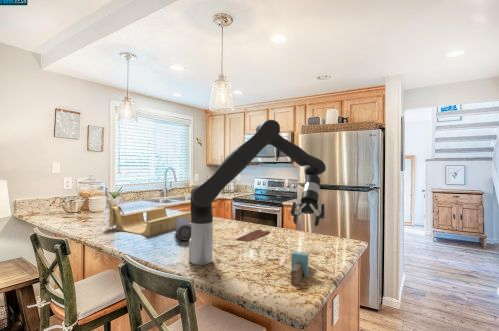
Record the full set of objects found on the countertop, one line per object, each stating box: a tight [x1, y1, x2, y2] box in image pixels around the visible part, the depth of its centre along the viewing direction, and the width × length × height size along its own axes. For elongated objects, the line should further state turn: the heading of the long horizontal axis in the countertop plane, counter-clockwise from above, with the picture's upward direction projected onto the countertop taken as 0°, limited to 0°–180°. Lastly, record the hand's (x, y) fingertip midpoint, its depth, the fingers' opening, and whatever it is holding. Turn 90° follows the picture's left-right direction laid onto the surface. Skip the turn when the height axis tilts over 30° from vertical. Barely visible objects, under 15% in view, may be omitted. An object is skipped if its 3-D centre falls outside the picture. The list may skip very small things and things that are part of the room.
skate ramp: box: [109, 203, 191, 237], centre depth 179 cm, size 40×35×16 cm
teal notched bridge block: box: [290, 251, 309, 278], centre depth 102 cm, size 6×2×8 cm, turn 67°
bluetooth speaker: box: [174, 217, 191, 241], centre depth 153 cm, size 23×9×10 cm, turn 19°
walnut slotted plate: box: [290, 263, 304, 286], centre depth 102 cm, size 2×20×5 cm, turn 158°
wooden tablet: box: [235, 229, 271, 243], centre depth 158 cm, size 27×10×2 cm, turn 147°
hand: (305, 224), depth 111 cm, fingers open, 8 cm apart
